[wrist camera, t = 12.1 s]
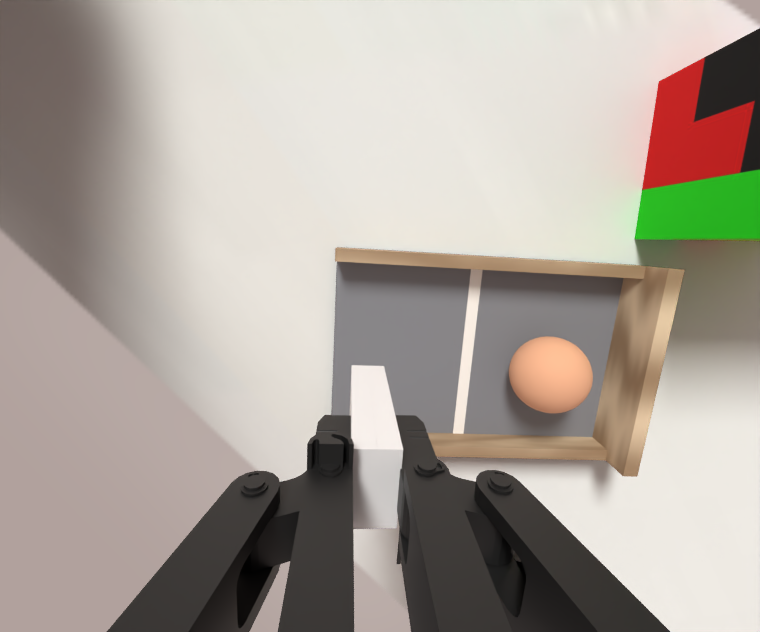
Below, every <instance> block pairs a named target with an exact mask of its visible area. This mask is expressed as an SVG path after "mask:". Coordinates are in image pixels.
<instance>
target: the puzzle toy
mask: <svg viewBox="0 0 760 632" xmlns="http://www.w3.org/2000/svg"><path fill="white" fill-rule="evenodd" d="M635 239H644V240H722V241H760V29H758V30H756V31H754V32H752V33H750V34H748V35H746V36H744V37H742V38H741V39H739V40H737V41H735V42H733V43H731V44H729V45H727V46H725V47H724V48H722V49H720V50H718V51H716V52H714V53H712V54H710V55H708V56H706V57H705V58H703V59H701V60H699V61H697V62H695V63H693V64H691V65H689V66H687V67H686V68H684V69H682V70H680V71H678V72H676V73H674V74H672V75H670V76H669V77H667V78H665V79H663V80H661V81H659V84H658V91H657V97H656V104H655V110H654V117H653V123H652V130H651V136H650V143H649V149H648V156H647V162H646V169H645V175H644V182H643V188H642V195H641V201H640V208H639V214H638V221H637V227H636V234H635Z"/></svg>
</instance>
